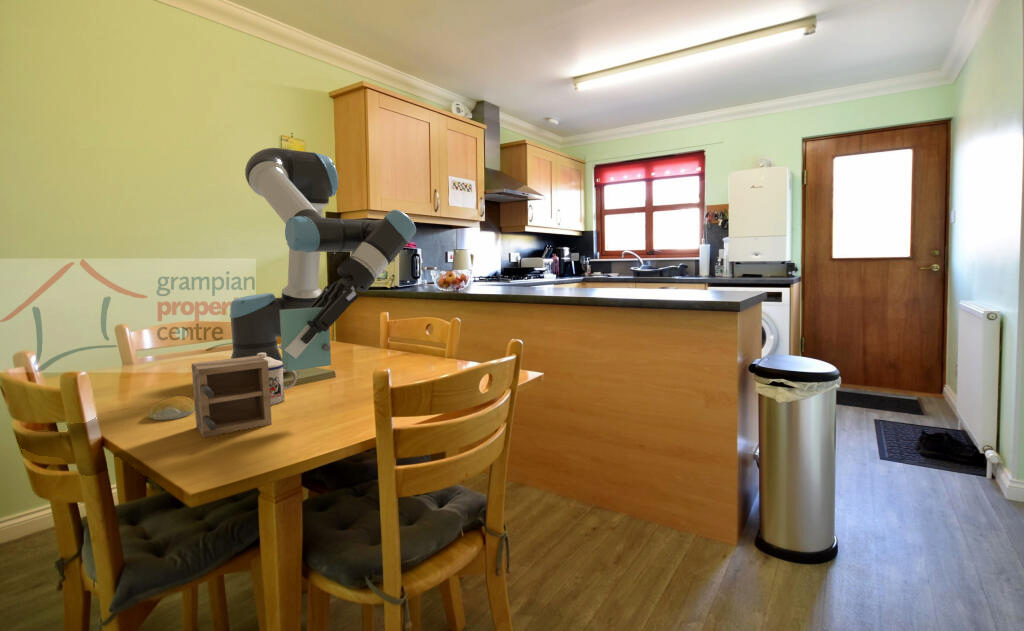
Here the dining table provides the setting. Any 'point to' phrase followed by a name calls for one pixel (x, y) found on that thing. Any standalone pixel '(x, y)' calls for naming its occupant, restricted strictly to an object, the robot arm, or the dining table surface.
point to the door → (317, 348)
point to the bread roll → (172, 408)
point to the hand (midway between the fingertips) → (287, 352)
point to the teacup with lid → (277, 379)
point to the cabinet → (231, 395)
